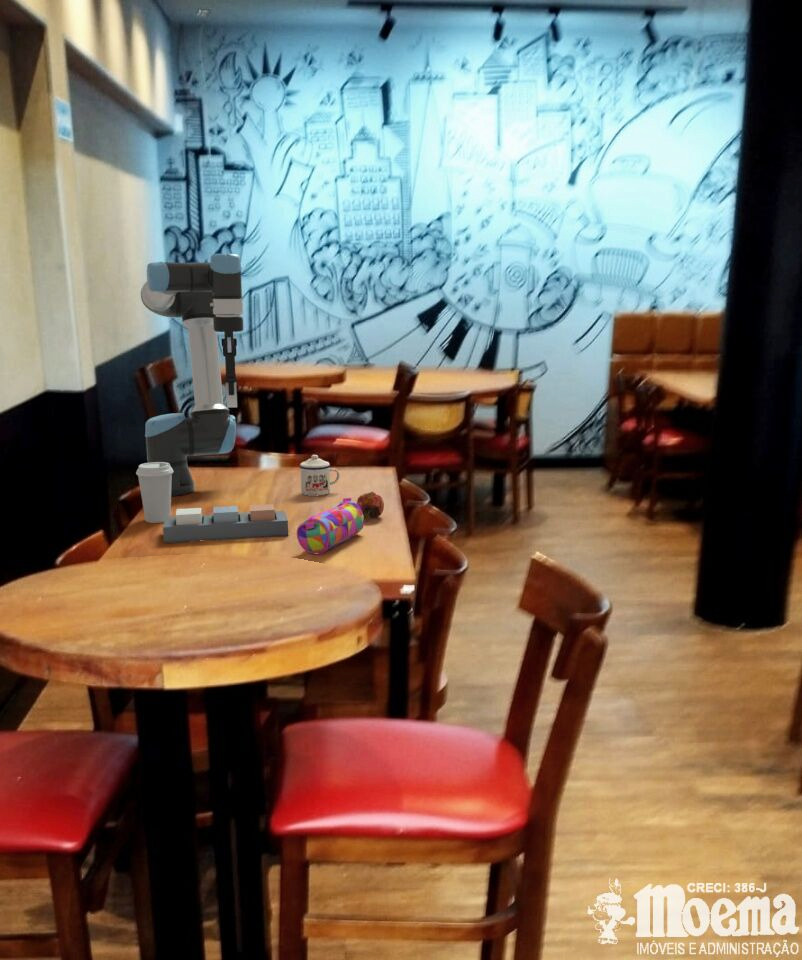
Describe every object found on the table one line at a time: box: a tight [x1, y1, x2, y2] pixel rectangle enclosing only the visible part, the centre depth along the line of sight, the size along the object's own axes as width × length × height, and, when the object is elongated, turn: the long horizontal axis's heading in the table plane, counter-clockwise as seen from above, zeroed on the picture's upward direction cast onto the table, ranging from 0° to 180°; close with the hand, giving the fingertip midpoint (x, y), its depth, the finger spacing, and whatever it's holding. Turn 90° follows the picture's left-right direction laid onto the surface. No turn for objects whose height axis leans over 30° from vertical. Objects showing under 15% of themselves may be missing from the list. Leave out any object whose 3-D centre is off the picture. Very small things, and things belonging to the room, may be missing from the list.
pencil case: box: [296, 497, 365, 554], centre depth 207 cm, size 22×9×9 cm, turn 160°
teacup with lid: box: [299, 454, 341, 497], centre depth 258 cm, size 12×9×12 cm
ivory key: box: [175, 507, 203, 525], centre depth 213 cm, size 6×6×4 cm
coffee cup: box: [135, 462, 173, 524], centre depth 228 cm, size 10×10×15 cm
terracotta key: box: [249, 503, 276, 521], centre depth 217 cm, size 6×6×4 cm
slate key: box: [212, 505, 239, 523], centre depth 215 cm, size 6×6×4 cm
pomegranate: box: [356, 491, 385, 522], centre depth 230 cm, size 7×7×10 cm
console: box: [162, 510, 289, 544], centre depth 216 cm, size 10×30×4 cm, turn 101°
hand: (232, 406), depth 226 cm, fingers closed
